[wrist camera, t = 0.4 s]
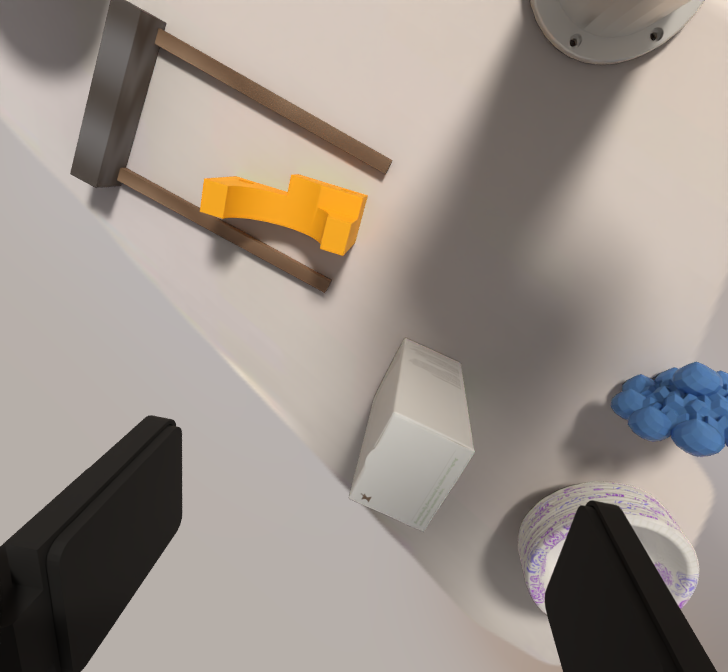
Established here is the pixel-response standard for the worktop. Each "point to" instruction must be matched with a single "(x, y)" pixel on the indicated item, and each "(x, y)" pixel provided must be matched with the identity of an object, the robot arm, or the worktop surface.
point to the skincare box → (414, 437)
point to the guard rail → (123, 109)
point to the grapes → (678, 408)
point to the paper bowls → (644, 513)
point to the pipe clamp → (290, 207)
